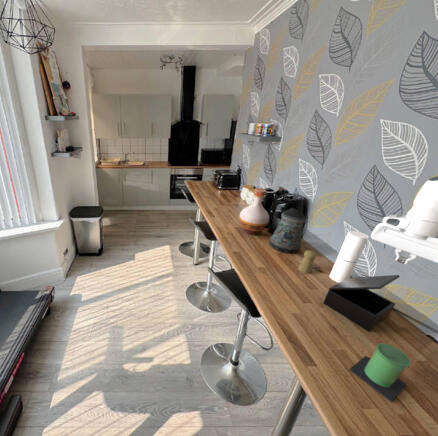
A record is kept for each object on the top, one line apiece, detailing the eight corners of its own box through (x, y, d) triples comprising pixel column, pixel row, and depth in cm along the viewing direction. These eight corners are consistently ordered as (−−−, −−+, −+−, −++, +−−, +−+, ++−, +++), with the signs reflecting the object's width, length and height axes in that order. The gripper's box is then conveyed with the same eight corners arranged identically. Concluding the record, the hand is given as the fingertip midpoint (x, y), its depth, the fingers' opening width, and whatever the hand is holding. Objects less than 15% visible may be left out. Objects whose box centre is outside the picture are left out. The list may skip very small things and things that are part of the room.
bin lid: (399, 276, 87) (398, 274, 87) (380, 288, 80) (379, 286, 81) (349, 279, 102) (348, 277, 102) (329, 290, 95) (328, 288, 95)
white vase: (237, 223, 171) (245, 183, 159) (263, 228, 165) (274, 187, 153) (236, 235, 154) (245, 191, 142) (265, 240, 148) (278, 195, 136)
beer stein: (271, 251, 137) (282, 211, 127) (266, 236, 154) (275, 200, 144) (302, 256, 133) (317, 215, 122) (294, 240, 150) (306, 204, 140)
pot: (398, 382, 69) (414, 359, 65) (387, 393, 66) (404, 370, 62) (369, 361, 75) (383, 339, 71) (358, 371, 72) (372, 348, 68)
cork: (299, 265, 125) (306, 247, 120) (312, 270, 121) (320, 252, 116) (296, 269, 121) (302, 251, 116) (309, 275, 117) (317, 256, 112)
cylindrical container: (333, 283, 111) (354, 237, 101) (326, 274, 118) (344, 230, 108) (350, 285, 110) (373, 239, 100) (341, 276, 117) (362, 231, 107)
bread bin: (386, 318, 92) (395, 303, 89) (367, 333, 86) (376, 317, 83) (342, 293, 105) (348, 279, 102) (322, 304, 98) (328, 289, 95)
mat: (406, 385, 69) (406, 384, 69) (391, 402, 65) (391, 401, 65) (365, 356, 77) (365, 355, 77) (349, 369, 73) (350, 368, 73)
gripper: (476, 238, 68) (449, 277, 73) (386, 213, 84) (369, 246, 90) (469, 243, 65) (442, 282, 71) (378, 215, 82) (361, 250, 87)
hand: (401, 262), depth 80 cm, fingers closed
